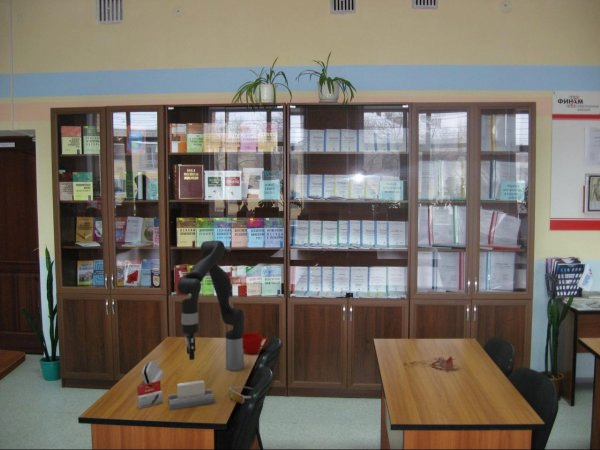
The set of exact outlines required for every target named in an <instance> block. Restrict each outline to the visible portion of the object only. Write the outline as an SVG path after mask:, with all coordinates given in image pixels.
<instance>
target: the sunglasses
mask: <svg viewBox="0 0 600 450" xmlns="http://www.w3.org/2000/svg"><path fill="white" fill-rule="evenodd" d="M235 389H247V390H253V388H251V387H249V386H229V391H228V392H229V393H228V394H229V398H230V400H232V401H233V402H235V403H239V404H244V403H245V399H247V400H248V399H251V395H250V396H249V395H248V396H247V395H243V394H240V393H239V392H237V391H235Z"/></svg>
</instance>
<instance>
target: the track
mask: <svg viewBox="0 0 600 450" xmlns="http://www.w3.org/2000/svg"><path fill="white" fill-rule="evenodd" d="M167 397H168V398H167V402H168V406H169V410H170V411H173V410H180V409H185V408H192V407H199V406H200V407H201V406H205V405H212V404H216V401H215V393H213V389H212V388H209V389H205V395H200V396H193V397H186V398H179V399H178V393H175V394H174V393H172V394H168V395H167Z"/></svg>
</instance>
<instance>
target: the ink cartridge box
mask: <svg viewBox="0 0 600 450" xmlns="http://www.w3.org/2000/svg"><path fill="white" fill-rule="evenodd" d="M148 385H149V386H148ZM161 385H162V384H161V380H160V381H156V382H152V383H148V384H145V383H144V384H139V385H137V387H136V388H137V392H136V393H137V395H136V396H137V397H136V398H137V400H136V401H137V402H136V403H137V404H136V406H137V408H138V409H143V408H145V407H151V406H154V405H157V404H161V403H164V402H163V401H164V398H163V397H164V396H163V391H162V388H161V387H162V386H161ZM146 386H147V387H146Z"/></svg>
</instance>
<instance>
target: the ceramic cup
mask: <svg viewBox="0 0 600 450" xmlns="http://www.w3.org/2000/svg"><path fill="white" fill-rule="evenodd" d="M264 340H266V341H267V342H266V343H265V344H263V345H262V342H263V341H264ZM268 344H269V338H267V337H263V335H262V334H260V333H258V332H247V333H243V351H244V353H246V354H248V355H255V354H256V353H258V352H259V350H261V349H260V348H262V347H266V346H267V345H268Z"/></svg>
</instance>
